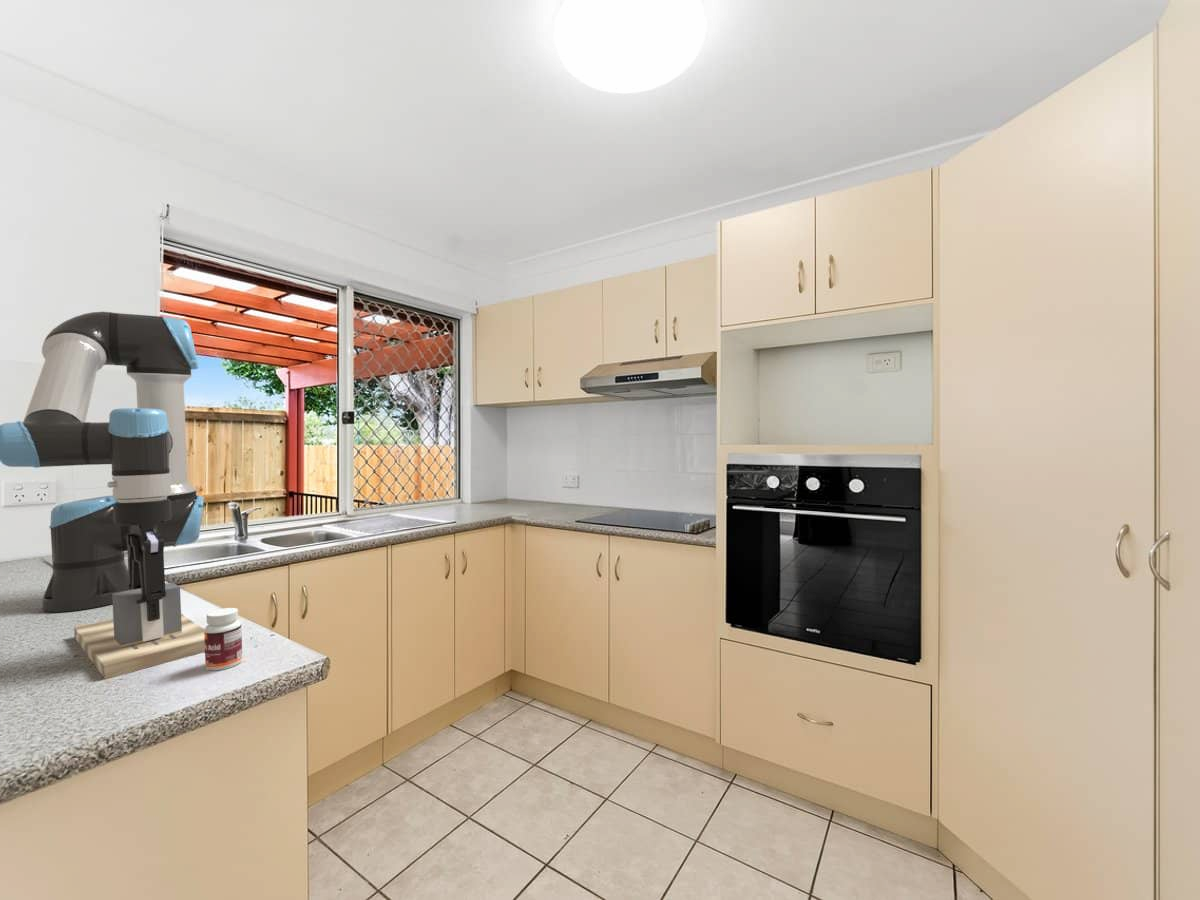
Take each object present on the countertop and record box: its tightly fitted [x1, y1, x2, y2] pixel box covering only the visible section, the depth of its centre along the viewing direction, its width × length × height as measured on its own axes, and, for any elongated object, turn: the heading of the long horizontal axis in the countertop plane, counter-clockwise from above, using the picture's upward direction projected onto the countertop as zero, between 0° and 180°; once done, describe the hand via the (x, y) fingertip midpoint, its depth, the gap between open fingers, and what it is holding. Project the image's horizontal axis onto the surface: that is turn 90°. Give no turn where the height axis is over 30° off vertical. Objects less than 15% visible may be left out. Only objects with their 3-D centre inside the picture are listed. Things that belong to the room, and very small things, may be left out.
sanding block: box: [112, 582, 182, 647], centre depth 91 cm, size 8×5×8 cm, turn 141°
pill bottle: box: [204, 607, 243, 671], centre depth 83 cm, size 5×5×8 cm
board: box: [73, 613, 205, 680], centre depth 93 cm, size 28×14×2 cm, turn 51°
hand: (148, 634), depth 91 cm, fingers closed on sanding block, 5 cm apart
